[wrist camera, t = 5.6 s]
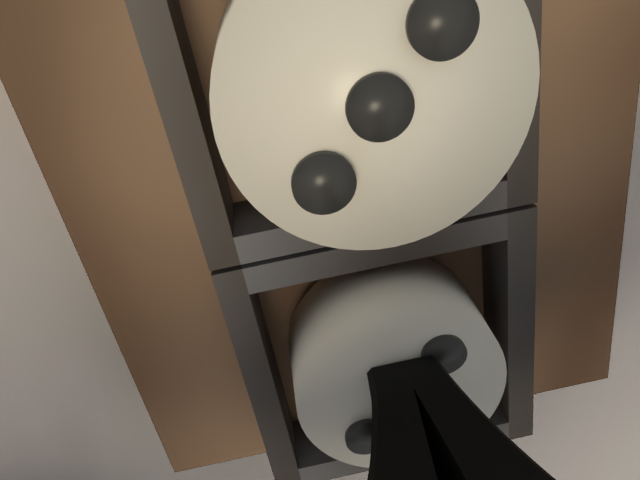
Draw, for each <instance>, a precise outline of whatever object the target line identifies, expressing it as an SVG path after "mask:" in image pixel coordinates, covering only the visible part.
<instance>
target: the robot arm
mask: <svg viewBox="0 0 640 480" xmlns="http://www.w3.org/2000/svg"><path fill="white" fill-rule="evenodd" d="M367 377H368V383H369V389H370V395H371V401H372V435H371V455H370V465H369V473H368V480H556V479H554V478H553V477H552V476H551V475H550V474H548V473H547V472H546V471H545V470H544V469H543V468H541V467H540V466H539V465H538V464H537V463H536V462H535V461H533V460H532V459H531V458H530V457H529V456H528V455H527V454H526V453H525V452H523V451H522V450H521V449H520V448H519V447H518V446H517V445H516V444H515V443H514V442H513V441H512V440H510V439H509V438H508V437H507V436H506V435H505V434H504V433H503V432H502V431H501V430H500V429H499V428H498V427H497V426H496V425H495V424H494V423H493V422H492V421H491V420H490V419H489V418H488V417H487V416H486V415H485V414H484V413H483V412H482V411H481V410H480V409H479V408H478V407H477V405H476V404H475V403H474V402H473V401H472V400H471V399H470V398H469V397H468V396H467V395H466V393H465V392H464V391H463V390H462V389H461V388H460V387H459V386H458V384H457V383H456V382H455V381H454V380H453V379H452V377H451V376H450V375H449V374H448V373H447V371H446V370H445V369H444V367H443V366H442V365H441V364H440V362H439V361H438V360H437V358H435V357H433V356H432V355H430V356H425V357H419V358H414V359H409V360H405V361H400V362H395V363H391V364H386V365H381V366H377V367H372V368H371V369H370V370H369V371H368V372H367Z"/></svg>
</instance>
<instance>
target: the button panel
mask: <svg viewBox="0 0 640 480" xmlns="http://www.w3.org/2000/svg"><path fill="white" fill-rule="evenodd" d="M524 1H525V3H526V6H527V8H528V10H529V13H530V16H531V19H532V22H533V25H534V28H535V32H536V38H537V44H538V49H539V65H540V77H539V89H538V97H537V102H536V107H535V111H534V116H533V119H532V122H531V125H530V128H529V131H528V134H527V136H526V138H525V140H524V143H523V145H522V147H521V149H520V151H519V153H518V155H517V157H516V158H515V160H514V162H513V163H512V165H511V166H510V168H509V170H508V171H507V173H506V174H505V175H504V176H503V178H502V179H501V180H500V182H499V183H498V184H497V185H496V187H495V188H494V189H493V190H492V191H491V192H490V193H489V194H488V195H487V196H486V197H485V198H484V199H483V200H482V201H481V202H480V203H479V204H478V205H477V206H476V207H474V208H473V209H472V210H471V211H470V212H468V213H467V214H466V215H465V216H463V217H462V218H460V219H459V220H457V221H456V222H454V223H453V224H451V225H450V226H448V227H446V228H444V229H442V230H440V231H438V232H436V233H434V234H432V235H430V236H427V237H425V238H422V239H420V240H417V241H415V242H411V243H408V244H404V245H400V246H397V247H391V248H384V249H378V250H347V249H337V248H332V247H327V246H322V245H319V244H316V243H313V242H310V241H307V240H303V239H301V238H299V237H297V236H295V235H293V234H291V233H289V232H287V231H285V230H283V229H282V228H280V227H279V226H277V225H276V224H274V223H272V222H271V221H270V220H268V219H267V218H266V217H265V216H264V215H262V214H261V213H260V212H259V211H258V210H257V209H255V208H254V206H253V205H252V204H251V203H250V202H249V201H248V200H247V199H246V198H245V197H244V195H243V194H242V193H241V191H240V190H239V189H238V187H237V186H236V184H235V183H234V181H233V180H232V178H231V177H230V175H229V173H228V171H227V169H226V167H225V165H224V163H223V161H222V159H221V156H220V153H219V150H218V147H217V144H216V141H215V138H214V133H213V128H212V123H211V116H210V101H209V92H210V78H211V69H212V63H213V57H214V50H215V44H216V39H217V34H218V29H219V24H220V21H221V18H222V15H223V12H224V9H225V7H226V4H227V2H228V0H0V79H1V81H2V83H3V85H4V88H5V90H6V92H7V94H8V97H9V99H10V101H11V103H12V106H13V108H14V110H15V112H16V115H17V117H18V119H19V122H20V124H21V126H22V128H23V131H24V133H25V135H26V137H27V140H28V142H29V144H30V146H31V149H32V151H33V153H34V155H35V158H36V160H37V162H38V164H39V167H40V169H41V171H42V173H43V176H44V178H45V180H46V182H47V185H48V187H49V189H50V192H51V194H52V196H53V198H54V201H55V203H56V205H57V207H58V210H59V212H60V214H61V216H62V219H63V221H64V223H65V225H66V228H67V230H68V232H69V234H70V237H71V239H72V241H73V243H74V246H75V248H76V250H77V252H78V255H79V257H80V259H81V262H82V264H83V266H84V268H85V271H86V273H87V275H88V277H89V280H90V282H91V284H92V286H93V289H94V291H95V293H96V295H97V298H98V300H99V302H100V304H101V307H102V309H103V311H104V313H105V316H106V318H107V320H108V322H109V325H110V327H111V329H112V332H113V334H114V336H115V338H116V341H117V343H118V345H119V347H120V350H121V352H122V354H123V356H124V359H125V361H126V363H127V365H128V368H129V370H130V372H131V374H132V377H133V379H134V381H135V383H136V386H137V388H138V390H139V392H140V395H141V397H142V399H143V402H144V404H145V406H146V408H147V411H148V413H149V415H150V417H151V420H152V422H153V424H154V426H155V429H156V431H157V433H158V435H159V438H160V440H161V442H162V444H163V447H164V449H165V451H166V453H167V456H168V458H169V460H170V462H171V465H172V467H173V469H174V472H179V471H183V470H188V469H193V468H197V467H202V466H206V465H211V464H216V463H220V462H225V461H229V460H234V459H238V458H243V457H248V456H252V455H257V454H261V453H266V452H267V455H268V458H269V462H270V465H271V468H272V471H273V474H274V478H275V480H329V479H333V478H338V477H342V476H347V475H351V474H356V473H360V472H365V471H369V468H365V467H359V466H354V465H350V464H347V463H344V462H341V461H339V460H336V459H334V458H332V457H330V456H328V455H327V454H325V453H324V452H322V451H321V450H320V449H318V448H317V447H316V446H315V445H314V444H313V443H312V442H311V441H310V440H309V438H308V437H307V436H306V434H305V433H304V431H303V429H302V427H301V425H300V422H299V419H298V415H297V409H296V402H295V394H294V385H293V377H292V369H291V361H290V352H289V328H290V323H291V320H292V317H293V314H294V312H295V310H296V308H297V306H298V304H299V303H300V301H301V300H302V298H303V297H304V295H305V294H306V293H307V292H308V291H309V290H310V289H311V287H312V286H313V285H314V284H316V283H317V282H318V281H319V280H320V279H325V278H330V277H334V276H339V275H344V274H349V273H353V272H358V271H363V270H368V269H372V268H377V267H382V266H386V265H391V264H396V263H401V262H405V261H410V260H415V259H420V258H427V259H430V260H433V261H434V262H436V263H438V264H440V265H442V266H444V267H445V268H447V269H448V270H449V271H451V272H452V273H453V274H454V275H455V276H456V277H457V278H458V279H459V280H460V282H461V283H462V284H463V286H464V287H465V289H466V290H467V292H468V294H469V295H470V297H471V299H472V300H473V302H474V303H475V305H476V307H477V308H478V310H479V312H480V313H481V315H482V317H483V318H484V320H485V322H486V323H487V325H488V326H489V328H490V330H491V331H492V333H493V335H494V336H495V338H496V340H497V341H498V343H499V345H500V347H501V349H502V351H503V354H504V357H505V361H506V369H507V376H506V385H505V389H504V393H503V395H502V398H501V400H500V403H499V405H498V406H497V408H496V410H495V412H494V413H493V415H492V416H491V417H490V420H491V421H492V422H493V423H494V424H495V425H496V426H497V427H498V428H499V429H500V430H501V431H502V432H503V433H504V434H505V435H506V436H507V437H508V438H509V439H515V438H519V437H524V436H528V435H532V433H533V394H536V393H541V392H545V391H550V390H554V389H559V388H563V387H568V386H573V385H577V384H582V383H586V382H591V381H595V380H600V379H605V378H608V370H609V361H610V352H611V342H612V333H613V324H614V315H615V306H616V296H617V287H618V278H619V269H620V259H621V250H622V241H623V232H624V222H625V213H626V204H627V195H628V185H629V176H630V167H631V158H632V148H633V139H634V130H635V121H636V111H637V102H638V93H639V84H640V0H524Z"/></svg>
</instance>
